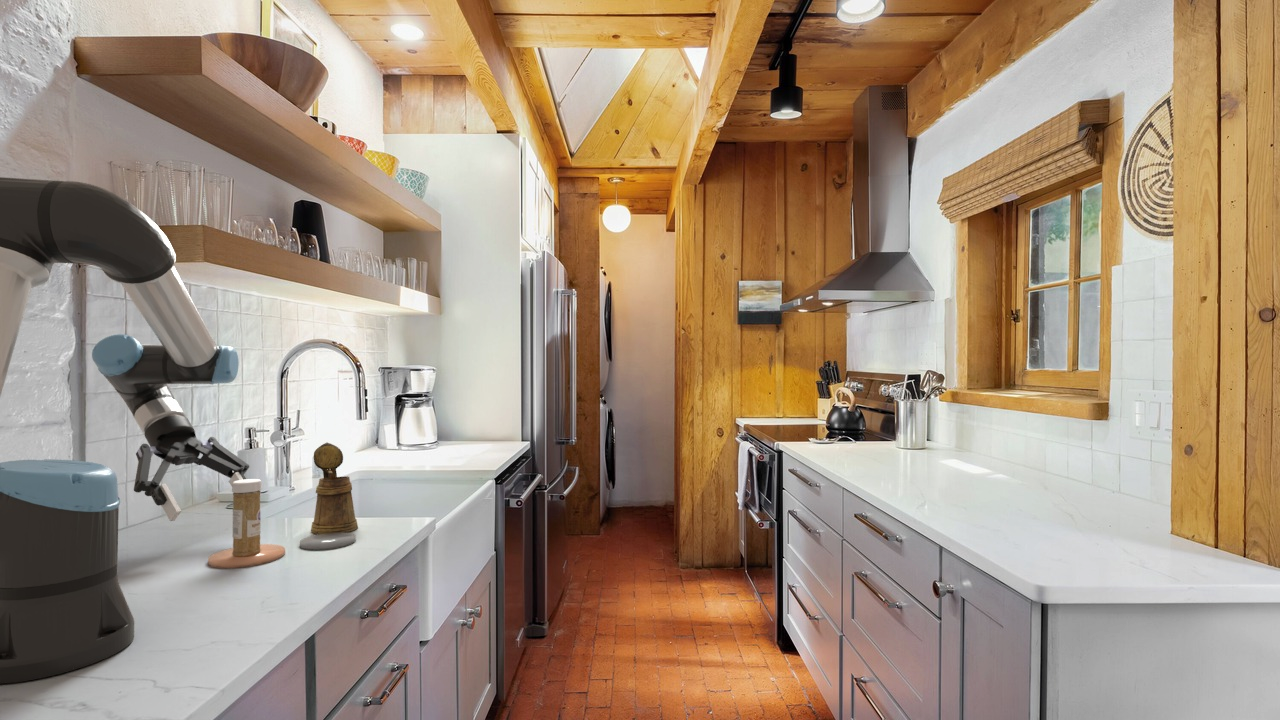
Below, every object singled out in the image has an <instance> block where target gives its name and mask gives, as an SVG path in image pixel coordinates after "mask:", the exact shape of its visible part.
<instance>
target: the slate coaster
mask: <svg viewBox="0 0 1280 720" xmlns="http://www.w3.org/2000/svg"><path fill="white" fill-rule="evenodd" d="M356 538H357V536H356V534H355V533H351V532H334V533H324V534H313V535H309V536H307V537H305V538H302V539H301V540H300V541H299V548H300V549H303V550H307V551H326V550H327V551H328V550H334V549H339V548H340V549H341V548H344V547H347V546H350V545H352V544H354V543H355V542H356V540H357V539H356Z"/></svg>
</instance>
